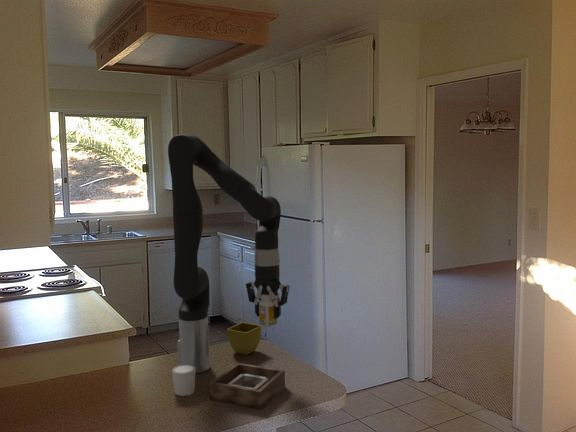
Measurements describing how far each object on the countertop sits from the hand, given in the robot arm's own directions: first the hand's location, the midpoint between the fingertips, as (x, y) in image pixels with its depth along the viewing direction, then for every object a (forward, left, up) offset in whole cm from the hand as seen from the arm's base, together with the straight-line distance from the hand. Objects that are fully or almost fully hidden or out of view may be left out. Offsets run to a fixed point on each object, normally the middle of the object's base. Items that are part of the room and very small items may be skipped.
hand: (268, 316), depth 168 cm
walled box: (-1, -13, -19) cm, 23 cm away
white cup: (-19, -19, -19) cm, 33 cm away
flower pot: (-18, +16, -19) cm, 31 cm away
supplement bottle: (0, 0, -3) cm, 3 cm away
